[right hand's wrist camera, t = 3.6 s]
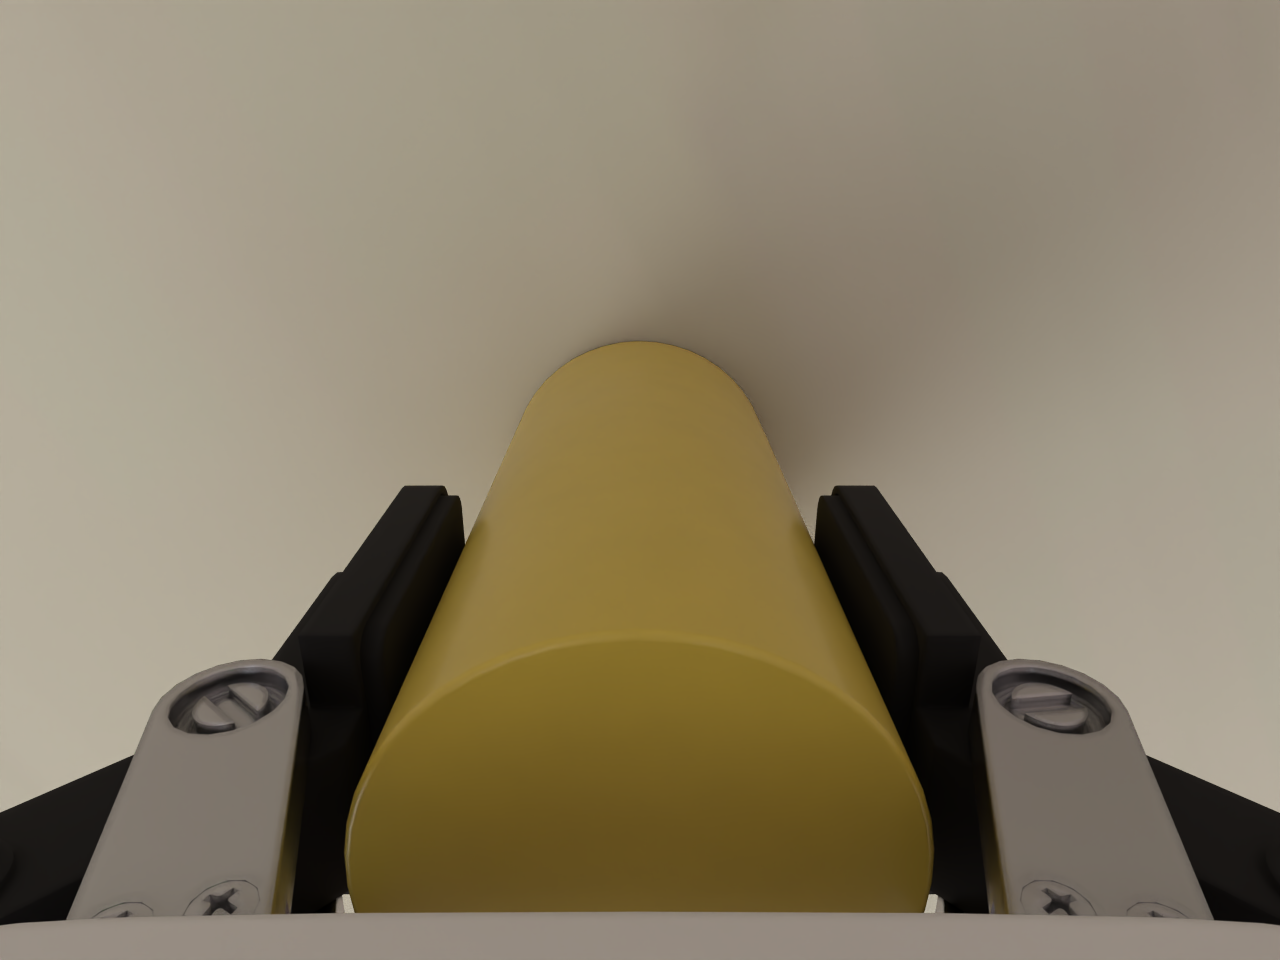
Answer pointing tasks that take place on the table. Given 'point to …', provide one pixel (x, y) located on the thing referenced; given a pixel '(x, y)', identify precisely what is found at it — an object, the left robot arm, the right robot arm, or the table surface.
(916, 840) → the tin
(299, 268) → the table surface
